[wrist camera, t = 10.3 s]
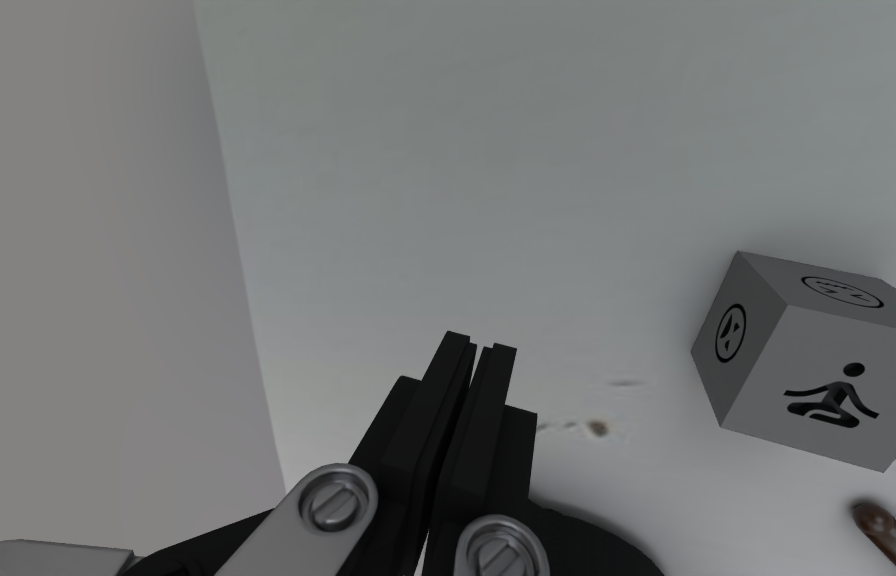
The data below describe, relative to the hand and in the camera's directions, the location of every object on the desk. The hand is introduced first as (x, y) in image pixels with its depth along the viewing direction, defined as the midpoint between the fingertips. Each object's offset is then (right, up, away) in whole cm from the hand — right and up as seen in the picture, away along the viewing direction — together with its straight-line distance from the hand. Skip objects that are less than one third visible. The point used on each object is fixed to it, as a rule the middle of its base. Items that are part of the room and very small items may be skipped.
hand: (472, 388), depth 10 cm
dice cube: (+13, +1, +8) cm, 15 cm away
